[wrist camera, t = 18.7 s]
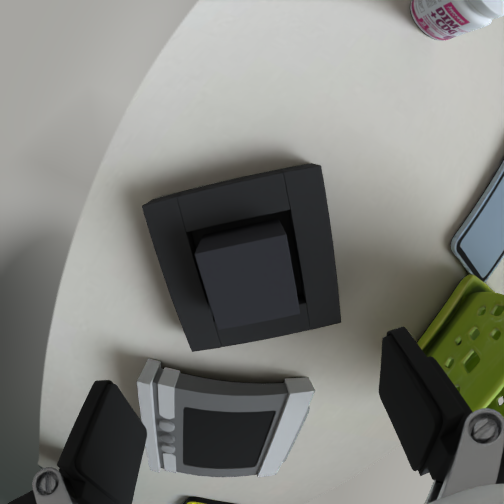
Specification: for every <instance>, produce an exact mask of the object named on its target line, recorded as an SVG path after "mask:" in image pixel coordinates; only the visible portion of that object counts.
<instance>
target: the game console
mask: <svg viewBox="0 0 504 504" xmlns="http://www.w3.org/2000/svg"><path fill="white" fill-rule="evenodd" d="M183 504H233V503H226V502H220V501H215V500H209V499H204V498H199V497H189V498H187V499H186V501H185V502H184V503H183Z"/></svg>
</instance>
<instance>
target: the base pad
mask: <svg viewBox="0 0 504 504" xmlns="http://www.w3.org/2000/svg"><path fill="white" fill-rule="evenodd" d="M142 208H143V211H144V215H145V218H146V222H147V225H148V228H149V232H150V235H151V238H152V241H153V245H154V248H155V251H156V254H157V257H158V260H159V263H160V266H161V269H162V272H163V275H164V278H165V281H166V284H167V287H168V290H169V292H170V295H171V298H172V301H173V303H174V306H175V309H176V312H177V314H178V317H179V320H180V322H181V325H182V327H183V330H184V333H185V335H186V338H187V340H188V343H189V345H190V348H191V350H192V352H193V351H200V350H207V349H213V348H220V347H225V346H231V345H237V344H242V343H248V342H253V341H259V340H264V339H269V338H274V337H279V336H284V335H288V334H293V333H298V332H302V331H307V330H312V329H316V328H320V327H324V326H329V325H333V324H337V323H341V317H340V305H339V294H338V284H337V274H336V265H335V257H334V249H333V241H332V233H331V226H330V219H329V212H328V206H327V199H326V193H325V187H324V181H323V175H322V169H321V166H320V165H316V164H312V163H311V164H306V165H300V166H295V167H289V168H284V169H279V170H274V171H269V172H264V173H259V174H255V175H250V176H245V177H241V178H236V179H232V180H227V181H223V182H219V183H215V184H210V185H206V186H202V187H198V188H194V189H190V190H186V191H182V192H178V193H175V194H171V195H167V196H163V197H160V198H156V199H153V200H151V201H149V202H148V203H146V204H145V205H143V206H142ZM273 219H279V220H280V222H281V225H282V227H283V229H284V231H285V233H286V235H287V241H288V246H289V252H290V257H291V263H292V268H293V274H294V280H295V285H296V291H297V297H298V303H299V309H300V314H297V315H292V316H288V317H283V318H278V319H273V320H268V321H263V322H258V323H253V324H248V325H243V326H237V327H232V328H226V329H221V330H218V329H217V326H216V322H215V319H214V316H213V313H212V310H211V307H210V304H209V301H208V297H207V294H206V291H205V288H204V285H203V281H202V278H201V275H200V271H199V268H198V265H197V261H196V258H195V252H196V249H197V247H198V245H199V242H200V240H201V238H202V236H203V235H204V234H209V233H213V232H217V231H222V230H226V229H231V228H236V227H240V226H245V225H249V224H254V223H259V222H263V221H268V220H273Z"/></svg>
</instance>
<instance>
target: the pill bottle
mask: <svg viewBox="0 0 504 504" xmlns="http://www.w3.org/2000/svg"><path fill="white" fill-rule="evenodd" d="M410 10H411V14H412V17H413V19H414V21H415V23H416V24H417V25H418V27H419V28H420V29H421V30H422V31H423V32H424V33H426V34H427V35H428V36H430V37H431V38H433V39H436V40H440V41H444V40H448V39H451V38H453V37H456V36H459V35H462V34H464V33H467V32H470V31H473V30H476V29H480V28H483V27H485V26H487V25H489V24H490V23H491V21H492V19H496V18H499V17H501V16H504V0H412V2H411V5H410Z"/></svg>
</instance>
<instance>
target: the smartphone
mask: <svg viewBox="0 0 504 504" xmlns="http://www.w3.org/2000/svg"><path fill="white" fill-rule="evenodd" d="M451 249H452V251H453V253H454V254H455V255H456V257H457V258H458V259H459V261H460V262H461V263H462V265H463V266H464V267H465V269H466V270H467V271H468V273H469V274H473V275H475V276H476V277H478V278H479V279H480V280H482V281H483V282H484V283H485V282H486V281H487V279H488V278H489V277H490V275H491V274H492V273H493V271H494V270H495V268H496V267H497V266H498V264H499V263H500V261H501V260H502V258H503V257H504V161H503V163H502V164H501V166H500V168H499V169H498V171H497V173H496V175H495V176H494V178H493V179H492V181H491V183H490V184H489V186H488V188H487V189H486V191H485V192H484V194H483V195H482V197H481V199H480V200H479V202H478V203H477V205H476V206H475V208H474V209H473V211H472V212H471V213H470V215H469V216H468V218H467V219H466V221H465V222H464V223H463V225H462V226H461V228H460V229H459V230H458V232H457V233H456V235H455V236H454V237H453V239H452V242H451Z"/></svg>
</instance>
